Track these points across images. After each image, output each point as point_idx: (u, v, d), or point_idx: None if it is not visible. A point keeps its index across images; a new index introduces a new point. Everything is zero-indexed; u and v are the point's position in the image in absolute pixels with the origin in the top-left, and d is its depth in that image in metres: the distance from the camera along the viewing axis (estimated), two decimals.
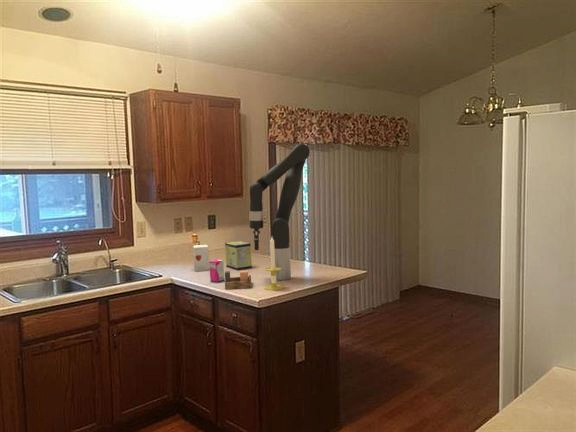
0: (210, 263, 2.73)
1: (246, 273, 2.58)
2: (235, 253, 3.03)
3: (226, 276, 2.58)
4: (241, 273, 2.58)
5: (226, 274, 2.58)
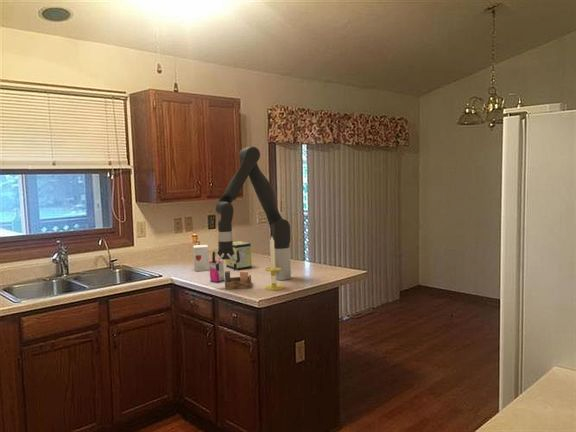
0: (210, 263, 2.73)
1: (246, 273, 2.58)
2: None
3: (226, 276, 2.58)
4: (241, 273, 2.58)
5: (226, 274, 2.58)
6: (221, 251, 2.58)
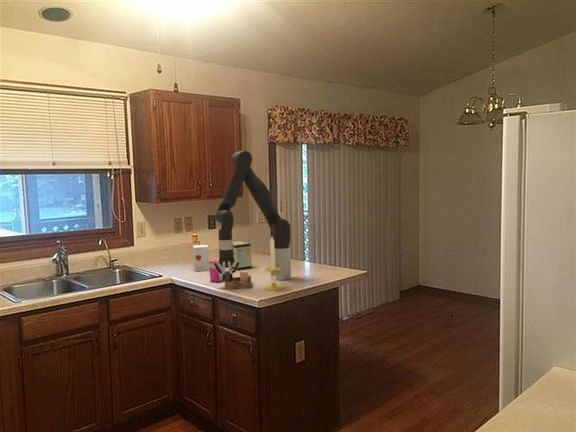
0: (210, 263, 2.73)
1: (246, 273, 2.58)
2: (235, 253, 3.03)
3: (226, 276, 2.58)
4: (241, 273, 2.58)
5: (226, 274, 2.58)
6: (222, 259, 2.58)
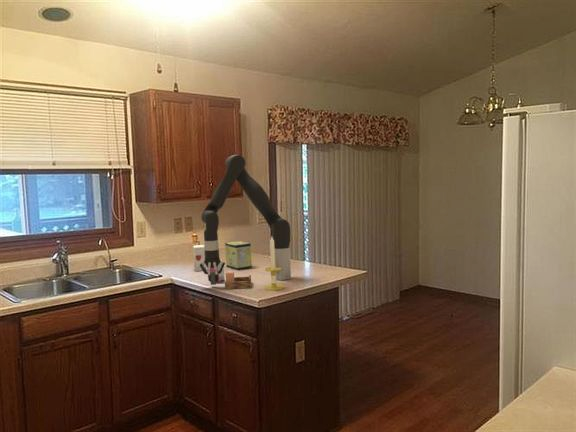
0: None
1: (232, 274, 2.58)
2: (235, 253, 3.03)
3: (212, 277, 2.58)
4: (227, 274, 2.58)
5: (212, 275, 2.58)
6: (207, 260, 2.58)
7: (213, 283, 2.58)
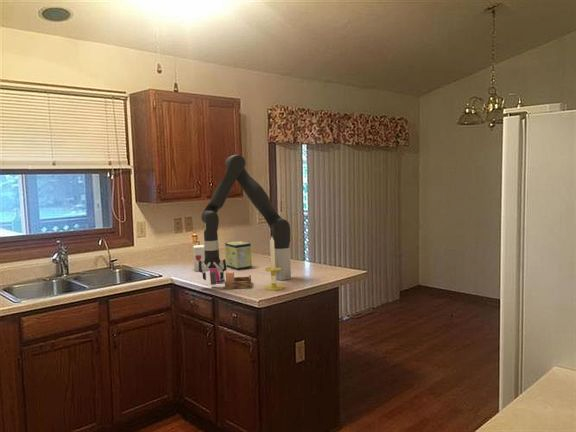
0: None
1: (232, 274, 2.58)
2: (235, 253, 3.03)
3: (212, 277, 2.58)
4: (227, 274, 2.58)
5: (212, 275, 2.58)
6: (207, 260, 2.58)
7: (213, 283, 2.58)
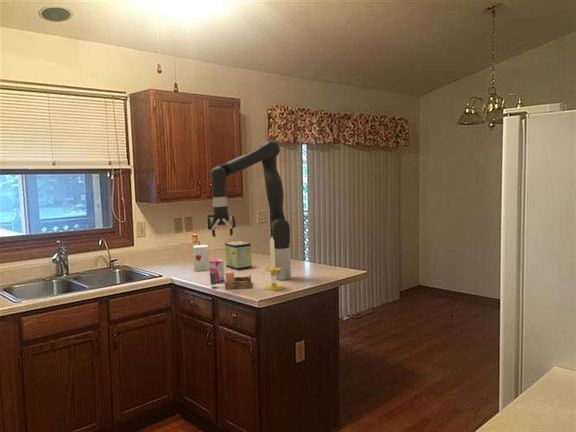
0: (210, 263, 2.73)
1: (232, 274, 2.58)
2: (235, 253, 3.03)
3: (212, 277, 2.58)
4: (227, 274, 2.58)
5: (212, 275, 2.58)
6: (216, 217, 2.59)
7: (213, 283, 2.58)
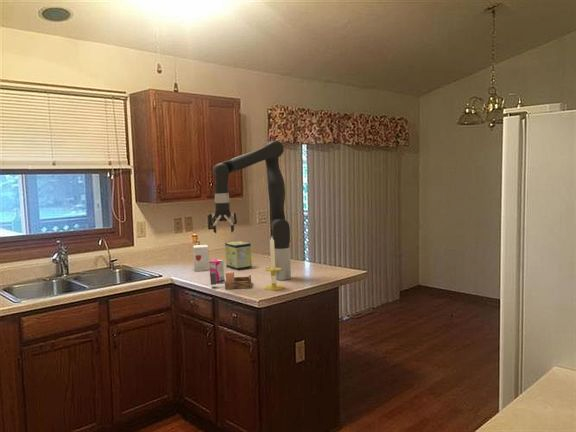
0: (210, 263, 2.73)
1: (232, 274, 2.58)
2: (235, 253, 3.03)
3: (212, 277, 2.58)
4: (227, 274, 2.58)
5: (212, 275, 2.58)
6: (218, 213, 2.59)
7: (213, 283, 2.58)
